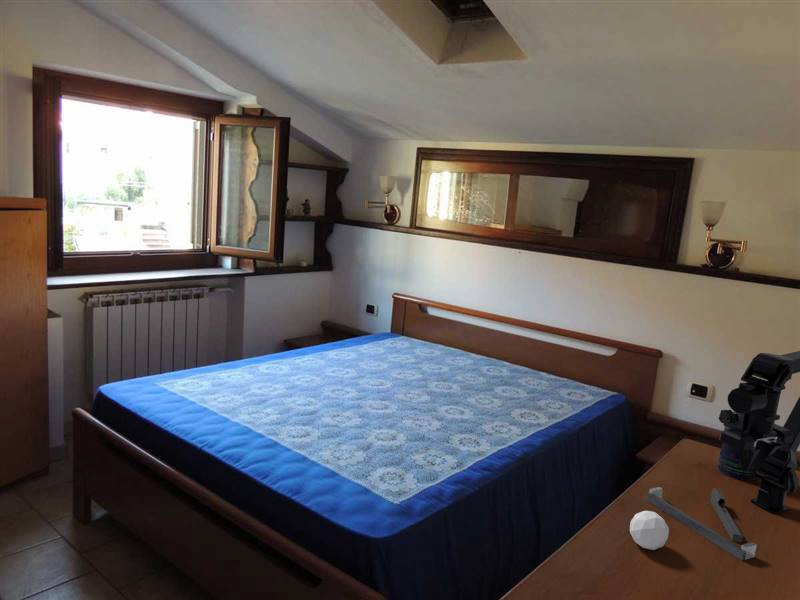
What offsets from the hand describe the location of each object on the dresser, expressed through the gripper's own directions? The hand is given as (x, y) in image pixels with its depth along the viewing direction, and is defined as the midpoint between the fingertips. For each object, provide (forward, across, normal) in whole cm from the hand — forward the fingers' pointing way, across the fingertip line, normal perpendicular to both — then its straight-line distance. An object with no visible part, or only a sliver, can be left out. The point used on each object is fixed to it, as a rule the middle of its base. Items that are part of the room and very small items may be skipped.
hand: (749, 469), depth 149 cm
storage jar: (+12, -22, -17) cm, 30 cm away
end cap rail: (+12, +16, 0) cm, 20 cm away
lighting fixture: (+12, +6, 0) cm, 14 cm away
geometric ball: (+12, +34, +2) cm, 36 cm away
